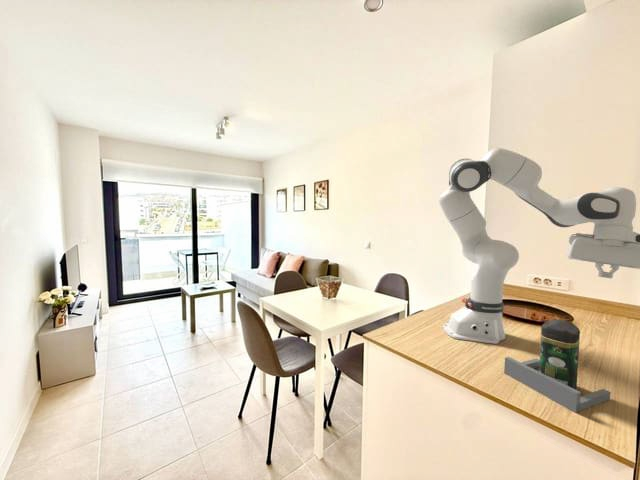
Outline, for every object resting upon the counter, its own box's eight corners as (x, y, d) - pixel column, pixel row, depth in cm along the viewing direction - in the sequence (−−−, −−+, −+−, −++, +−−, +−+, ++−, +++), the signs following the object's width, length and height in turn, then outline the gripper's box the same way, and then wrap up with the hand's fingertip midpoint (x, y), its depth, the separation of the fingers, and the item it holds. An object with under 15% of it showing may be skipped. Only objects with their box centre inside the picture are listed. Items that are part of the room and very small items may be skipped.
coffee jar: (543, 373, 82) (546, 314, 81) (578, 386, 76) (583, 322, 74) (534, 386, 76) (537, 323, 75) (572, 401, 70) (577, 332, 68)
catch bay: (535, 364, 87) (536, 349, 87) (610, 399, 70) (611, 381, 70) (504, 373, 83) (504, 357, 82) (575, 412, 66) (577, 393, 65)
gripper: (573, 230, 92) (567, 270, 91) (662, 240, 82) (655, 284, 81) (567, 233, 97) (561, 271, 97) (649, 243, 87) (643, 285, 87)
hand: (605, 277), depth 89 cm, fingers closed
